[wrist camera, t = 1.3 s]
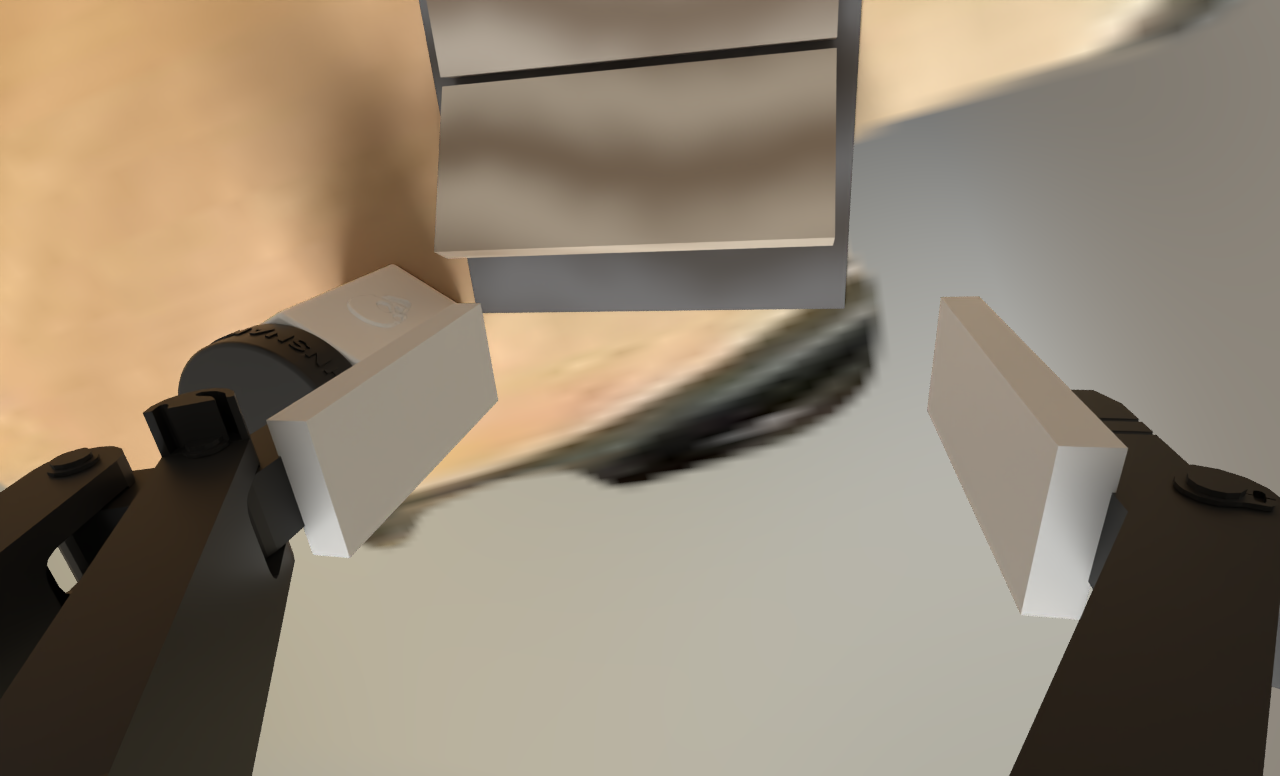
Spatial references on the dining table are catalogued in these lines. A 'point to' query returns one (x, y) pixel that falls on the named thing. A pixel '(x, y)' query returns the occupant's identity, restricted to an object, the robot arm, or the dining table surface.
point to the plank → (641, 159)
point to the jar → (311, 342)
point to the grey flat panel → (639, 37)
